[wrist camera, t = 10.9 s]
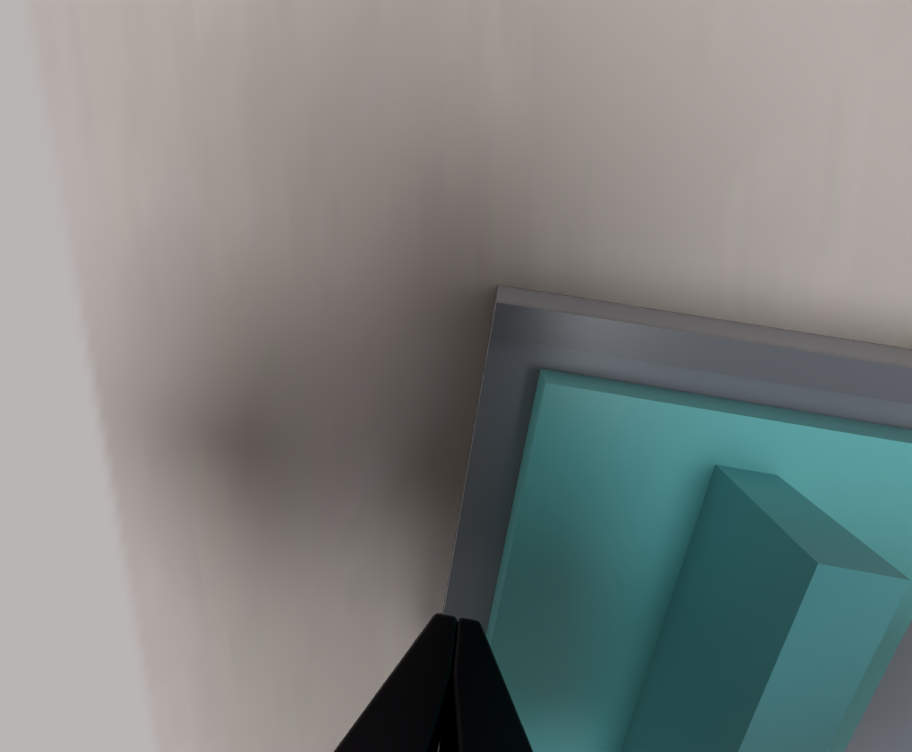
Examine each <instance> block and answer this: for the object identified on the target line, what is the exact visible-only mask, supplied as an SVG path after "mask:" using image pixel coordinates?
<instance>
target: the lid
mask: <svg viewBox="0 0 912 752" xmlns="http://www.w3.org/2000/svg"><path fill="white" fill-rule="evenodd" d="M911 620H912V429H906V428H900V427H894V426H888V425H882V424H876V423H870V422H864V421H858V420H852V419H845V418H839V417H833V416H827V415H821V414H815V413H809V412H803V411H797V410H791V409H785V408H779V407H773V406H767V405H760V404H754V403H748V402H742V401H736V400H730V399H724V398H718V397H712V396H706V395H700V394H694V393H688V392H681V391H675V390H669V389H663V388H657V387H651V386H645V385H639V384H633V383H627V382H621V381H615V380H609V379H602V378H596V377H590V376H584V375H578V374H572V373H566V372H560V371H554V370H548V369H542V368H540V372H539V377H538V382H537V387H536V392H535V397H534V402H533V407H532V412H531V416H530V421H529V426H528V431H527V436H526V441H525V446H524V451H523V456H522V461H521V466H520V471H519V475H518V480H517V485H516V490H515V495H514V500H513V505H512V510H511V515H510V520H509V525H508V530H507V534H506V539H505V544H504V549H503V554H502V559H501V564H500V569H499V574H498V579H497V584H496V589H495V593H494V598H493V603H492V608H491V613H490V618H489V623H488V628H487V633H486V637H487V639H488V642H489V644H490V647H491V649H492V652H493V654H494V657H495V659H496V662H497V664H498V666H499V669H500V671H501V674H502V676H503V679H504V681H505V684H506V686H507V688H508V691H509V693H510V696H511V698H512V701H513V703H514V706H515V708H516V710H517V713H518V715H519V718H520V720H521V723H522V725H523V728H524V730H525V732H526V735H527V737H528V740H529V742H530V745H531V747H532V750H533V752H844V751H845V749H846V747H847V745H848V743H849V741H850V739H851V737H852V735H853V733H854V732H855V730H856V728H857V726H858V724H859V722H860V720H861V718H862V716H863V714H864V712H865V710H866V708H867V706H868V704H869V702H870V700H871V698H872V696H873V694H874V692H875V690H876V688H877V686H878V685H879V683H880V681H881V679H882V677H883V675H884V673H885V671H886V669H887V667H888V665H889V663H890V661H891V659H892V657H893V655H894V653H895V651H896V649H897V647H898V645H899V643H900V641H901V639H902V638H903V636H904V634H905V632H906V630H907V628H908V626H909V624H910V622H911Z"/></svg>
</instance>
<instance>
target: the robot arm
mask: <svg viewBox="0 0 912 752" xmlns="http://www.w3.org/2000/svg"><path fill="white" fill-rule="evenodd" d="M438 747H439V750H438ZM334 752H533V750H532V747H531V745H530V742H529V740H528V737H527V735H526V732H525V730H524V728H523V725H522V723H521V720H520V718H519V715H518V713H517V710H516V708H515V706H514V703H513V701H512V698H511V696H510V693H509V691H508V688H507V686H506V684H505V681H504V679H503V676H502V674H501V671H500V669H499V666H498V664H497V662H496V659H495V657H494V654H493V652H492V649H491V647H490V644H489V642H488V639H487V637H486V635H485V632H484V630H483V627H482V625H481V623H480V622H479V621H477V620H472V619H467V618H459V619H458V621H457V619H456V617H455V616H451V615H446V614H441V613H437V614H435V615H434V616H433V617H432V618H431V620H430V621H429V622H428V624H427V625H426V627H425V628H424V629H423V631H422V632H421V633H420V635H419V636H418V637H417V639H416V640H415V642H414V643H413V644H412V646H411V647H410V648H409V650H408V651H407V652H406V654H405V655H404V657H403V658H402V659H401V661H400V662H399V663H398V665H397V666H396V667H395V669H394V670H393V672H392V673H391V674H390V676H389V677H388V678H387V680H386V681H385V682H384V684H383V685H382V687H381V688H380V689H379V691H378V692H377V693H376V695H375V696H374V697H373V699H372V700H371V702H370V703H369V704H368V706H367V707H366V708H365V710H364V711H363V712H362V714H361V715H360V717H359V718H358V719H357V721H356V722H355V723H354V725H353V726H352V727H351V729H350V730H349V732H348V733H347V734H346V736H345V737H344V738H343V740H342V741H341V742H340V744H339V745H338V747H337V748H336V749H335V751H334Z"/></svg>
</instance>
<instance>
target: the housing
mask: <svg viewBox="0 0 912 752" xmlns="http://www.w3.org/2000/svg"><path fill="white" fill-rule="evenodd" d="M540 368H542V369H548V370H554V371H560V372H566V373H572V374H578V375H584V376H590V377H596V378H602V379H609V380H615V381H621V382H627V383H633V384H639V385H645V386H651V387H657V388H663V389H669V390H675V391H681V392H688V393H694V394H700V395H706V396H712V397H718V398H724V399H730V400H736V401H742V402H748V403H754V404H760V405H767V406H773V407H779V408H785V409H791V410H797V411H803V412H809V413H815V414H821V415H827V416H833V417H839V418H845V419H852V420H858V421H864V422H870V423H876V424H882V425H888V426H894V427H900V428H906V429H912V349H905V348H899V347H892V346H886V345H880V344H873V343H867V342H860V341H854V340H847V339H841V338H835V337H828V336H822V335H815V334H809V333H802V332H796V331H790V330H783V329H777V328H770V327H764V326H758V325H751V324H745V323H738V322H732V321H725V320H719V319H713V318H706V317H700V316H693V315H687V314H680V313H674V312H668V311H661V310H655V309H648V308H642V307H635V306H629V305H623V304H616V303H610V302H603V301H597V300H590V299H584V298H578V297H571V296H565V295H558V294H552V293H546V292H539V291H533V290H526V289H520V288H513V287H507V286H501V285H498V288H497V294H496V300H495V305H494V311H493V317H492V323H491V329H490V335H489V341H488V347H487V353H486V359H485V365H484V371H483V377H482V383H481V388H480V394H479V400H478V406H477V412H476V418H475V424H474V430H473V436H472V442H471V448H470V454H469V460H468V466H467V471H466V477H465V483H464V489H463V495H462V501H461V507H460V513H459V519H458V525H457V531H456V537H455V543H454V549H453V554H452V560H451V566H450V572H449V578H448V584H447V590H446V596H445V602H444V608H443V614H446V615H451V616H455V617H456V619H457V621H458V619H459V618H467V619H472V620H477V621H479V622H480V623H481V625H482V627H483V630H484V632H485V635H486V633H487V628H488V623H489V618H490V613H491V608H492V603H493V598H494V593H495V589H496V584H497V579H498V574H499V569H500V564H501V559H502V554H503V549H504V544H505V539H506V534H507V530H508V525H509V520H510V515H511V510H512V505H513V500H514V495H515V490H516V485H517V480H518V475H519V471H520V466H521V461H522V456H523V451H524V446H525V441H526V436H527V431H528V426H529V421H530V416H531V412H532V407H533V402H534V397H535V392H536V387H537V382H538V377H539V372H540ZM438 750H439V747H438ZM844 752H912V620H911V622H910V624H909V626H908V628H907V630H906V632H905V634H904V636H903V638H902V639H901V641H900V643H899V645H898V647H897V649H896V651H895V653H894V655H893V657H892V659H891V661H890V663H889V665H888V667H887V669H886V671H885V673H884V675H883V677H882V679H881V681H880V683H879V685H878V686H877V688H876V690H875V692H874V694H873V696H872V698H871V700H870V702H869V704H868V706H867V708H866V710H865V712H864V714H863V716H862V718H861V720H860V722H859V724H858V726H857V728H856V730H855V732H854V733H853V735H852V737H851V739H850V741H849V743H848V745H847V747H846V749H845V751H844Z"/></svg>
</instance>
